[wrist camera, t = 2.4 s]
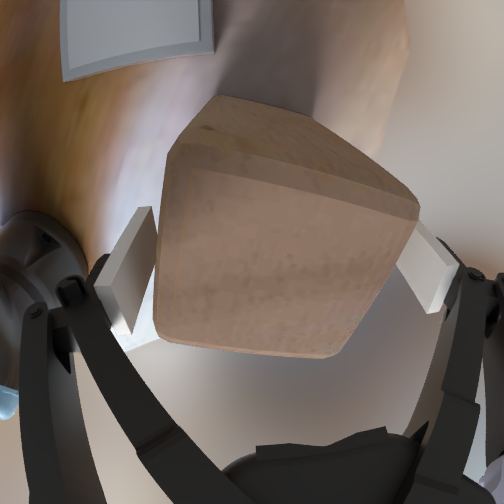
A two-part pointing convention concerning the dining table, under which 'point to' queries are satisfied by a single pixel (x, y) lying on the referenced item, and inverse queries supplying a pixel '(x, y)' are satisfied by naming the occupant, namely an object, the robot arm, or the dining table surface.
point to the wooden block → (272, 233)
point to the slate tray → (131, 33)
